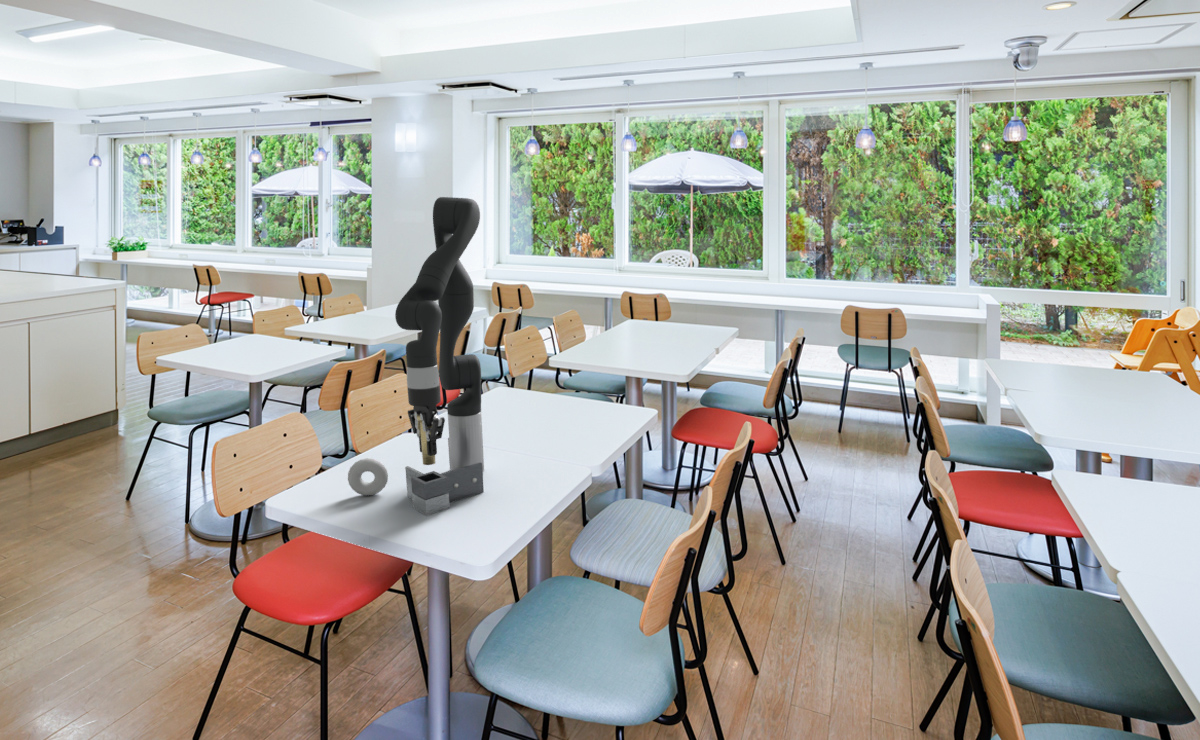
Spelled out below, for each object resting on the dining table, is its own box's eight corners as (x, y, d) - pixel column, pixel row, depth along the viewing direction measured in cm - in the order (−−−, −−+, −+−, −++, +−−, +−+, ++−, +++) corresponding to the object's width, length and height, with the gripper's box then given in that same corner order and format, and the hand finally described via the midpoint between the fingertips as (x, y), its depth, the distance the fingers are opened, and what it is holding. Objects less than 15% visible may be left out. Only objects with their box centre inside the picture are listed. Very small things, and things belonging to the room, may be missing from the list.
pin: (417, 463, 175) (414, 415, 172) (432, 459, 177) (428, 412, 175) (426, 466, 172) (422, 418, 169) (440, 462, 175) (437, 415, 172)
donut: (348, 499, 184) (344, 462, 182) (350, 494, 187) (347, 457, 185) (388, 496, 185) (385, 459, 183) (390, 491, 189) (387, 455, 187)
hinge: (397, 499, 183) (395, 469, 181) (459, 480, 195) (457, 452, 194) (426, 515, 173) (424, 484, 171) (489, 494, 185) (488, 465, 183)
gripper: (453, 385, 168) (457, 456, 172) (422, 377, 178) (427, 444, 182) (424, 391, 163) (429, 463, 167) (394, 382, 173) (400, 450, 177)
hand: (428, 453), depth 174 cm, fingers closed on pin, 3 cm apart
